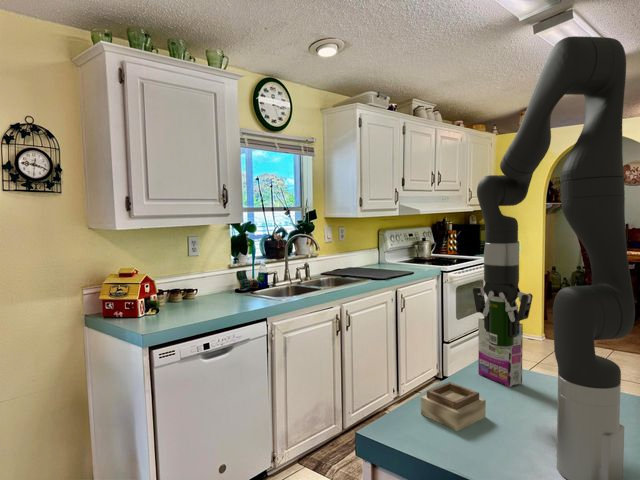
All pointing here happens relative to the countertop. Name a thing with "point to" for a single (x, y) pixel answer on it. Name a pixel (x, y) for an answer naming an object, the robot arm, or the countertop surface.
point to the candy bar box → (500, 359)
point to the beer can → (499, 324)
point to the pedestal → (453, 406)
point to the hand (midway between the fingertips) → (501, 333)
